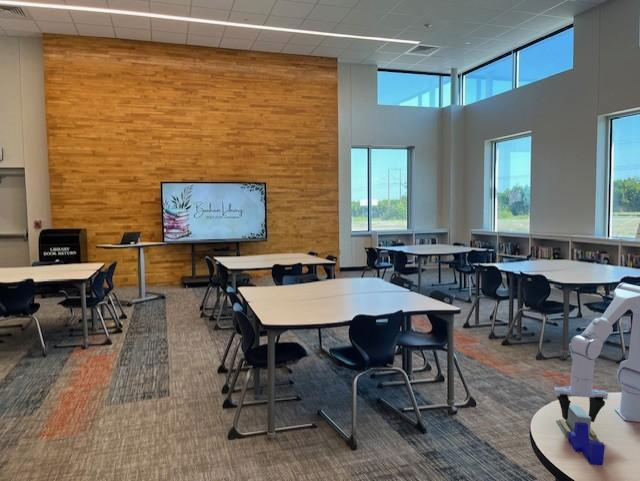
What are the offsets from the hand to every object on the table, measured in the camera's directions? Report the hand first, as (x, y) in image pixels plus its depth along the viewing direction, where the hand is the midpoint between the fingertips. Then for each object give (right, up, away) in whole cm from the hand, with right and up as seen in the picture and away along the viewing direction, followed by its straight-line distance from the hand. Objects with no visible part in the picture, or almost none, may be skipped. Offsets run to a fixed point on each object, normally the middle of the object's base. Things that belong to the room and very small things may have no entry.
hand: (578, 419), depth 142 cm
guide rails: (0, -4, 0) cm, 4 cm away
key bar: (0, -3, 0) cm, 3 cm away
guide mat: (0, -4, 0) cm, 4 cm away
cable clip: (-4, -5, -11) cm, 13 cm away
